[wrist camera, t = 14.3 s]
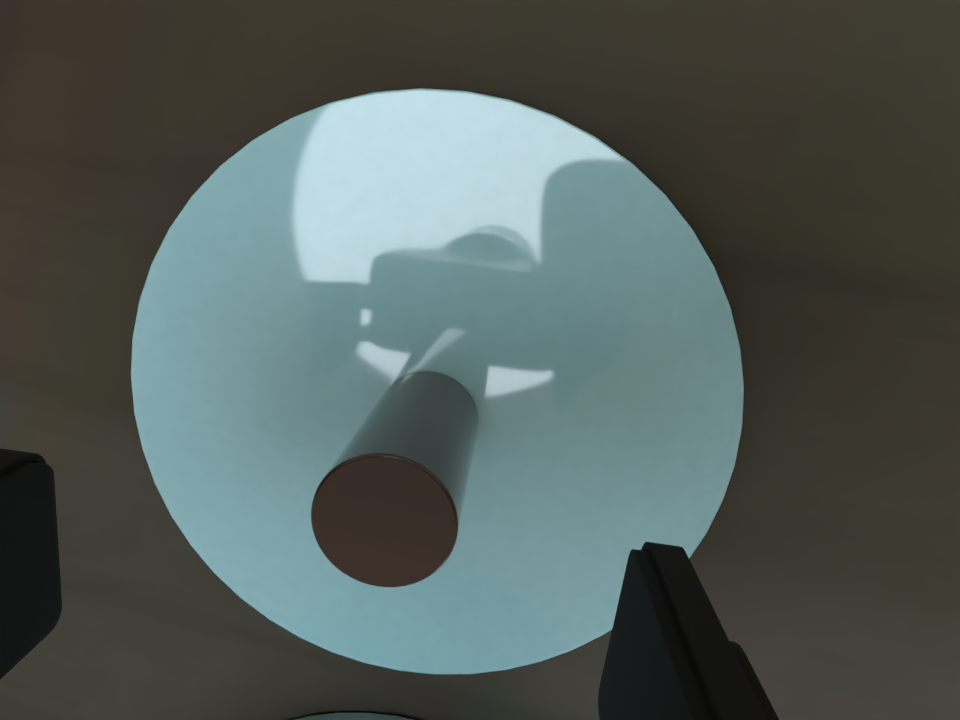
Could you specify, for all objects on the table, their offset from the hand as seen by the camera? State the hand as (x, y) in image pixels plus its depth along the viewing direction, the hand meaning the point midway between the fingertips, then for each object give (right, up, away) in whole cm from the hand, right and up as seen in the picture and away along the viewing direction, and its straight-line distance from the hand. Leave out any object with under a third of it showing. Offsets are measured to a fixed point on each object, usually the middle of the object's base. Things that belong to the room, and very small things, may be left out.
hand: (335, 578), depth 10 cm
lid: (+1, +2, +7) cm, 8 cm away
